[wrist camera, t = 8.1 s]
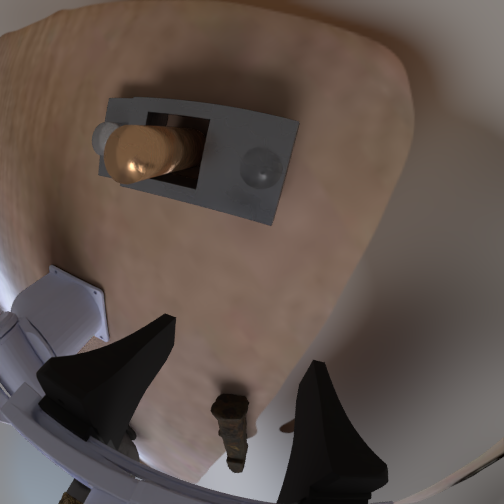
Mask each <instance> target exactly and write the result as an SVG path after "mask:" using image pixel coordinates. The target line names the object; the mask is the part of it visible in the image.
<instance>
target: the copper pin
mask: <svg viewBox="0 0 504 504" xmlns="http://www.w3.org/2000/svg"><path fill="white" fill-rule="evenodd" d="M205 142H206V137H205V136H204V134H203V133H201V132H200V131H198V130H196V129H191V128H179V127H166V126H147V125H124V126H121V127H119V128H117V129H116V130H114V131H113V132H112V134H111V135H110V136H109V138H108V140H107V142H106V144H105V148H104V163H105V167H106V170H107V172H108V173H109V175H110V176H111V177H112V178H113V179H114V180H115V181H116V182H118V183H121V184H132V183H135V182H139V181H142V180H145V179H149V178H152V177H156V176H160V175H163V174H167V173H171V172H175V171H179V170H183V169H187V168H191V167H195V166H197V165H199V164H200V163H201V161H202V156H203V151H204V147H205Z"/></svg>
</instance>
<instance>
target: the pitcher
mask: <svg viewBox="0 0 504 504" xmlns="http://www.w3.org/2000/svg"><path fill="white" fill-rule="evenodd" d="M135 439H136V434H135V432H134V431H133V430H132V429H131V428H130V427H129V426H128V427H127V429H126V432H125V434H124V436H123V439H122V441H121V444H120V446H119V449H118V452H120V453H121V454H123V455H125V456H127V457H129V458H131V459H133V460H135V461H137V462H140V461H139V454H138V451H137V448H136V446H135V444H134V443H133V442H132V440H135ZM127 473H128V472H127ZM129 474H130V473H129ZM130 477H133V478H135V476H134V475H132V474H130ZM91 490H92V489H90V488H89V487H87V486H86V485H84V484H82V483H81V482H79V481H78V480H76V479H75V478H74V480H73V482H72V483H71V485H70V487H69V488H68V490H67V492H65V493H63V496H62V499H61V500H60V501H59V504H84V502H85V500H86V499H87V497H88V495H89V493H90V492H91Z"/></svg>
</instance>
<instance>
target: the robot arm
mask: <svg viewBox="0 0 504 504" xmlns="http://www.w3.org/2000/svg"><path fill="white" fill-rule="evenodd" d="M49 271H50V273H48V274H47V275H45V276H44V277H42V278H41V279H39V280H38V281H36V282H35V283H33V284H32V285H30V286H29V287H28V288H26V289H25V290H23V291H22V292H21V293H20V294H19V295H18V296H17V297H16V298H15V300H14V302H13V304H12V307H11V312H9V311H8V312H5V313H3V314H1V315H0V383H1V384H2V385H3V387H4V388H5V389H6V391H7V392H8V393H9V394H10V396H11V397H10V398H9V397H8V396H7V395H6V394H5V392H4V391H3V390H2V389H1V387H0V422H3V423H6V424H10V425H12V426H13V427H14V428H15V429H16V430H17V431H18V432H19V433H20V434H21V435H22V436H23V437H24V438H25V439H26V440H27V441H28V442H30V443H31V444H32V445H33V446H34V447H35V448H36V449H37V450H39V451H40V452H41V453H42V454H44V455H45V456H46V457H47V458H48V459H50V460H51V461H52V462H53V463H55V464H56V465H57V466H58V467H60V468H61V469H62V470H64V471H65V472H67V473H68V474H69V475H71V476H72V477H74V478H75V479H76V480H78V481H79V482H81V483H82V484H84V485H86V486H87V487H89V488H90V489H92V490H91V492H90V493H89V495H88V497H87V499H86V500H85V502H84V504H368V500H369V499H371V492H373V491H375V490H377V489H379V488H381V487H383V486H384V485H386V483H387V482H388V468H387V465H386V463H384V462H383V461H382V460H381V459H380V458H379V457H378V456H377V455H376V454H375V453H374V452H373V451H372V450H371V449H370V448H369V447H368V446H367V444H366V443H365V442H364V441H363V439H362V438H361V437H360V435H359V434H358V433H357V431H356V430H355V428H354V427H353V425H352V424H351V422H350V420H349V419H348V417H347V415H346V413H345V411H344V409H343V407H342V405H341V403H340V401H339V399H338V396H337V394H336V392H335V389H334V387H333V384H332V381H331V379H330V376H329V373H328V371H327V367H326V365H325V363H324V362H320V361H316V360H313V361H312V363H311V365H310V367H309V368H308V370H307V372H306V373H305V375H304V377H303V379H302V381H301V382H300V384H299V389H298V395H297V400H296V411H295V426H294V438H293V445H292V450H291V455H290V459H289V463H288V467H287V471H286V475H285V478H284V482H283V485H282V489H281V491H280V495H279V497H278V500H277V503H269V502H263V501H258V500H252V499H247V498H242V497H238V496H233V495H230V494H226V493H221V492H218V491H214V490H210V489H207V488H204V487H201V486H198V485H195V484H192V483H189V482H186V481H183V480H180V479H178V478H175V477H172V476H170V475H167V474H165V473H162V472H160V471H157V470H155V469H153V468H150V467H148V466H146V465H144V464H142V463H140V462H137V461H135V460H133V459H131V458H129V457H127V456H125V455H123V454H121V453H120V452H118V449H119V446H120V444H121V441H122V439H123V436H124V434H125V432H126V429H127V427H128V425H129V422H130V420H131V418H132V416H133V414H134V412H135V410H136V408H137V406H138V404H139V402H140V400H141V398H142V396H143V394H144V393H145V391H146V389H147V388H148V386H149V385H150V384H151V382H152V381H153V379H154V378H155V376H156V375H157V373H158V372H159V370H160V369H161V367H162V366H163V365H164V363H165V362H166V360H167V358H168V356H169V354H170V352H171V350H172V348H173V346H174V338H175V324H176V317H173V316H170V315H168V314H163V315H162V316H160V317H159V318H157V319H156V320H154V321H153V322H151V323H149V324H148V325H146V326H145V327H143V328H141V329H140V330H138V331H136V332H134V333H133V334H131V335H129V336H127V337H125V338H123V339H121V340H119V341H117V342H114V343H112V344H110V345H107V346H104V347H102V348H99V349H95V350H92V351H89V352H85V353H80V354H77V353H78V352H79V350H80V349H81V348H82V347H83V346H84V345H85V344H86V343H87V342H88V341H89V340H90V339H91V338H92V337H93V336H96V337H97V338H99V339H101V340H103V341H105V342H108V341H109V335H108V328H107V320H106V312H105V303H104V294H103V291H102V290H101V289H99V288H97V287H94V286H92V285H90V284H88V283H86V282H84V281H82V280H80V279H78V278H76V277H74V276H72V275H70V274H68V273H66V272H65V271H63V270H61V269H59V268H57V267H55V266H53V265H50V266H49ZM127 472H128V473H127ZM129 473H130V474H132V475H134V476H136V477H138V478H140V479H142V480H141V481H140V480H137V479H135V478H133V477H130V474H129ZM371 504H393V502H392V501H389V502H379V503H371Z"/></svg>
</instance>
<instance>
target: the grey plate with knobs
mask: <svg viewBox="0 0 504 504" xmlns="http://www.w3.org/2000/svg"><path fill="white" fill-rule="evenodd" d="M169 114H170V115H178V116H186V117H193V118H200V119H207V120H210V124H209V128H208V133H207V137H206V142H205V147H204V151H203V156H202V161H201V167H200V172H199V177H198V179H193V178H189V177H184V176H180V175H176V174H171V173H167V174H163V175H160V176H156V177H152V178H149V179H145V180H142V181H139V182H135V183H132V184H121V183H120V186H122V187H127V188H131V189H135V190H139V191H143V192H147V193H151V194H155V195H159V196H163V197H167V198H171V199H175V200H179V201H183V202H187V203H190V204H194V205H198V206H202V207H205V208H209V209H213V210H217V211H220V212H224V213H228V214H231V215H235V216H238V217H242V218H245V219H249V220H253V221H256V222H260V223H263V224H266V225H270V226H271V225H272V223H273V221H274V218H275V214H276V211H277V207H278V203H279V200H280V196H281V192H282V188H283V185H284V181H285V177H286V174H287V170H288V166H289V162H290V159H291V155H292V151H293V147H294V143H295V140H296V136H297V132H298V128H299V124H300V123H299V122H298V121H295V120H291V119H287V118H283V117H279V116H274V115H270V114H266V113H261V112H256V111H251V110H246V109H241V108H235V107H229V106H223V105H217V104H210V103H203V102H195V101H186V100H176V99H164V98H148V97H134V98H109V102H108V107H107V112H106V118H105V122H104V123H101V124H99V125H98V126H97V127H96V129H95V131H94V133H93V136H92V145H93V148H94V150H95V152H96V153H97V154H98V155H100V163H99V174H98V175H100V176H105V177H109V178H112V177H111V176H110V175H109V173H108V172H107V170H106V167H105V163H104V148H105V144H106V142H107V140H108V138H109V136H110V135H111V134H112V132H113V131H114V130H116V129H117V128H119V127H121V126H124V125H147V126H166V125H167V120H168V115H169Z"/></svg>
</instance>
